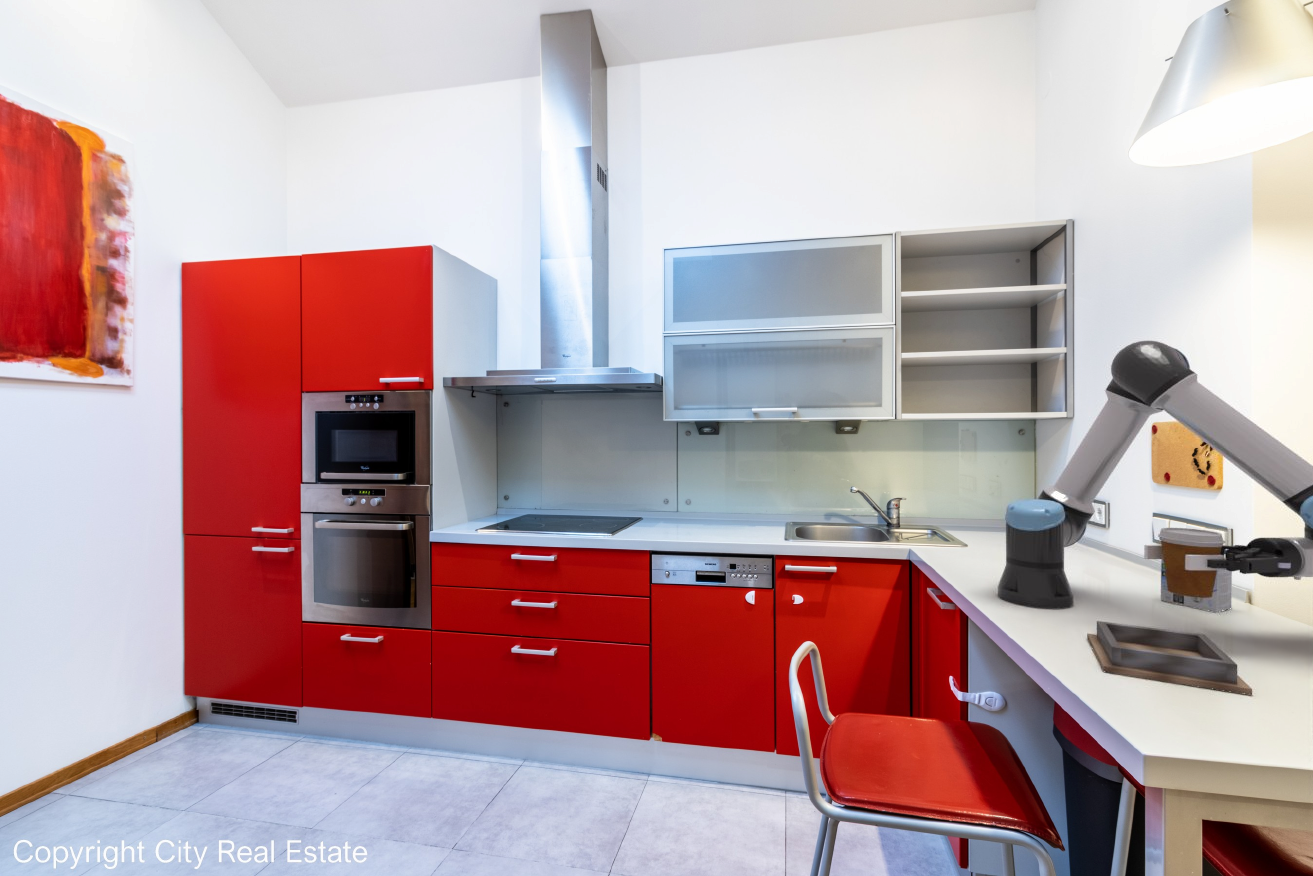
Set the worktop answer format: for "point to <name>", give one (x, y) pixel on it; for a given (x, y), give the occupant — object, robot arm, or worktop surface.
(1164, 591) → the light bulb box
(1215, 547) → the disposable coffee cup
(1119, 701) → the worktop surface
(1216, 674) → the cup holder plate
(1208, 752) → the worktop surface
